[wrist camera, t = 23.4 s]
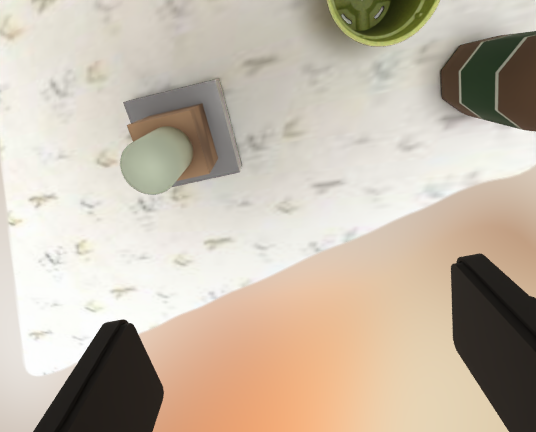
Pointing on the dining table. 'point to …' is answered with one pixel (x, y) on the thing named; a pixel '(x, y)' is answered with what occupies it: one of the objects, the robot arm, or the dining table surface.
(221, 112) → the plinth
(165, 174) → the tin
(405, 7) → the plant pot
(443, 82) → the beer bottle
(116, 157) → the dining table surface
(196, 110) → the cube
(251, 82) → the dining table surface
